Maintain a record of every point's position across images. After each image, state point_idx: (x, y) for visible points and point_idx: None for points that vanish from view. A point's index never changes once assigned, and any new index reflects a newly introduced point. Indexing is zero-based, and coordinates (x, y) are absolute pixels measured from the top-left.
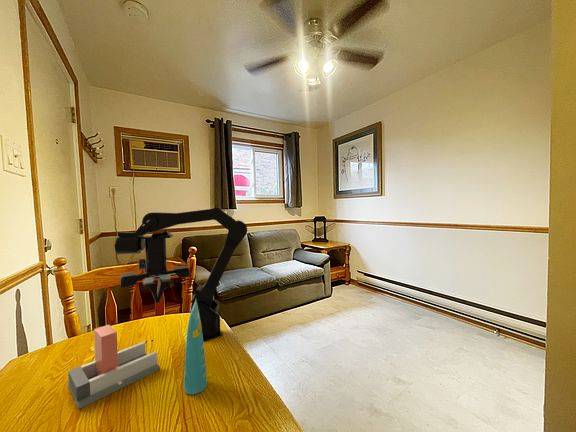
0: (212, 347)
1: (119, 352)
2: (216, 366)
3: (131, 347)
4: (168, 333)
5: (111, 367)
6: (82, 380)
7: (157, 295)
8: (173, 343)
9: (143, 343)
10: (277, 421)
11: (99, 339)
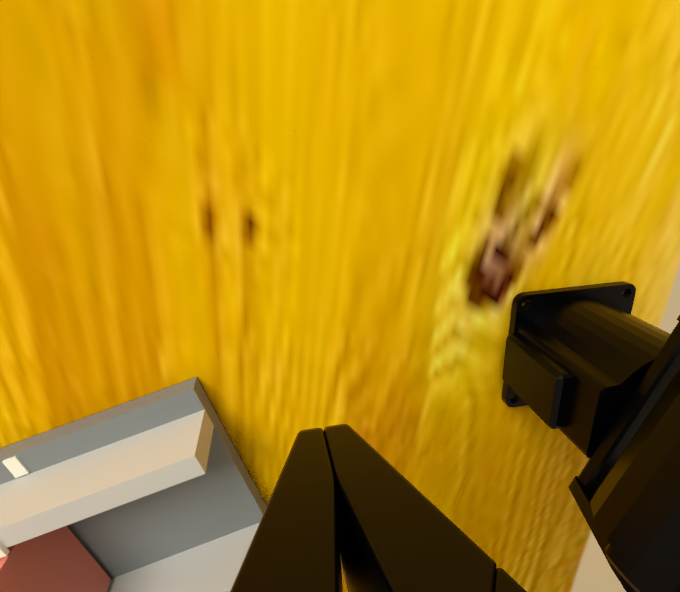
0: (516, 462)
1: (55, 524)
2: None
3: (122, 495)
4: (361, 174)
5: None
6: None
7: (355, 560)
8: (368, 339)
9: (194, 477)
10: None
11: None
